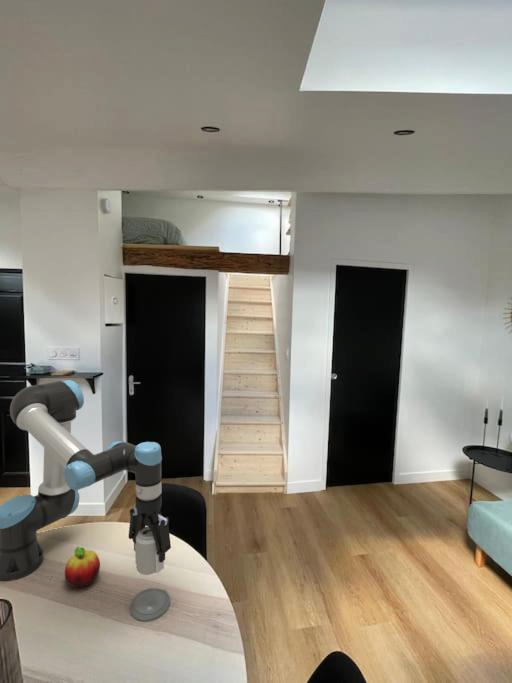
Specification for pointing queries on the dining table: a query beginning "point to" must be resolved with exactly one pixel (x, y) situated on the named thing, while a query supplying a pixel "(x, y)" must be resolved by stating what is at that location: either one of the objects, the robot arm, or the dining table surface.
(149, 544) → the can
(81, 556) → the fruit
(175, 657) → the dining table surface
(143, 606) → the saucer
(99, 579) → the dining table surface
